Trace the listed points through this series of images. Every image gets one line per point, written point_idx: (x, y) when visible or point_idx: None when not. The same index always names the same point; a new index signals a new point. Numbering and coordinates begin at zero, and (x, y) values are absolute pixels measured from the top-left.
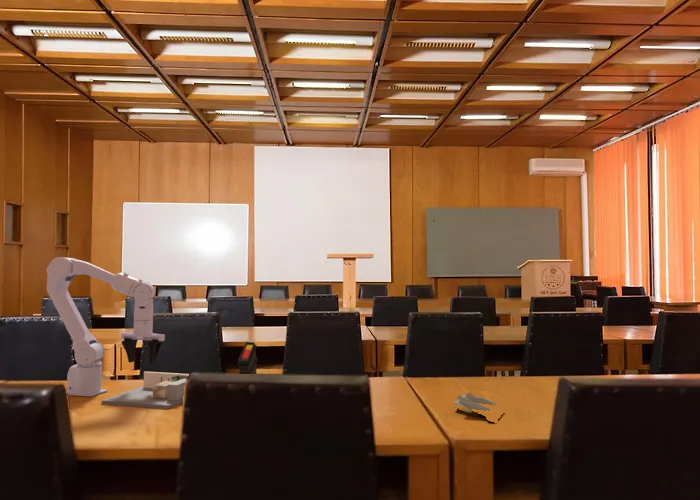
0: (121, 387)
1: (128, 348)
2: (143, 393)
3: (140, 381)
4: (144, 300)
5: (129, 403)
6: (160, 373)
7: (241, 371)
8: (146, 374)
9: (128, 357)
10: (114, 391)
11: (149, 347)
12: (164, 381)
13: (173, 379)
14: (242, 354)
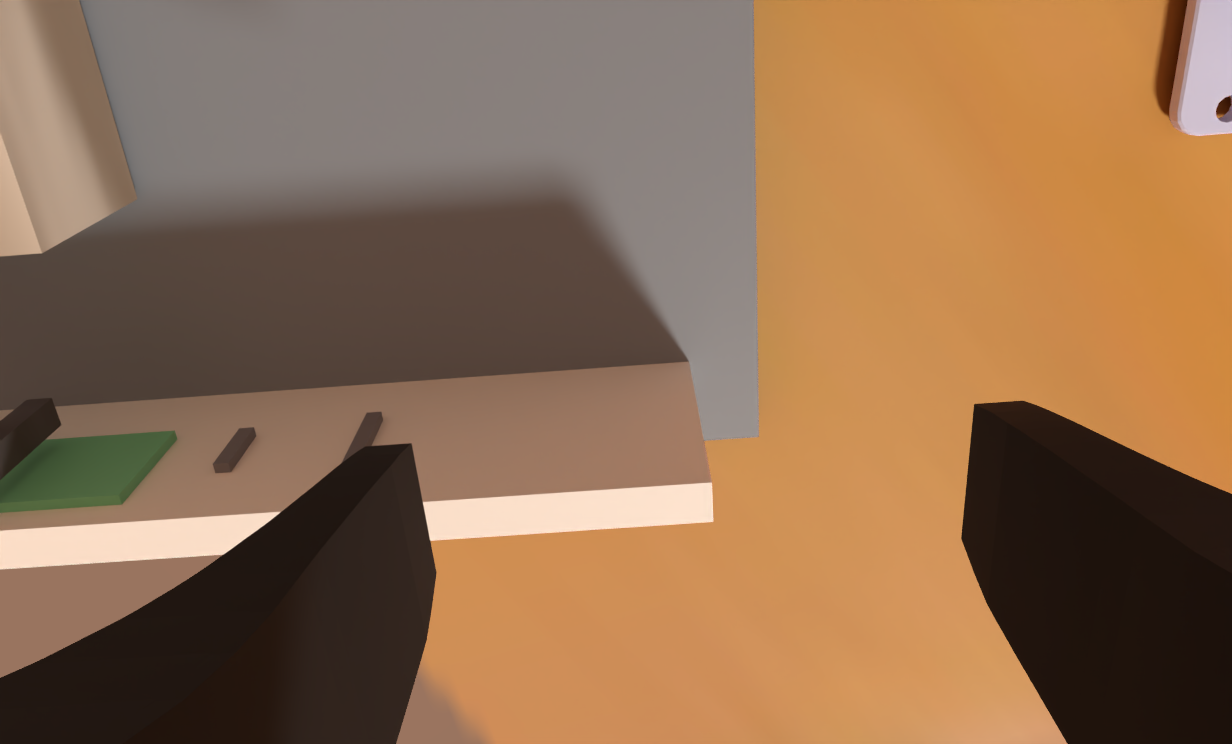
0: (1100, 400)
1: (1227, 567)
2: (411, 28)
3: (1038, 717)
4: None
5: None
6: None
7: None
8: (654, 463)
9: (1078, 440)
10: (1065, 171)
11: (183, 679)
12: (9, 186)
13: (130, 462)
14: None
